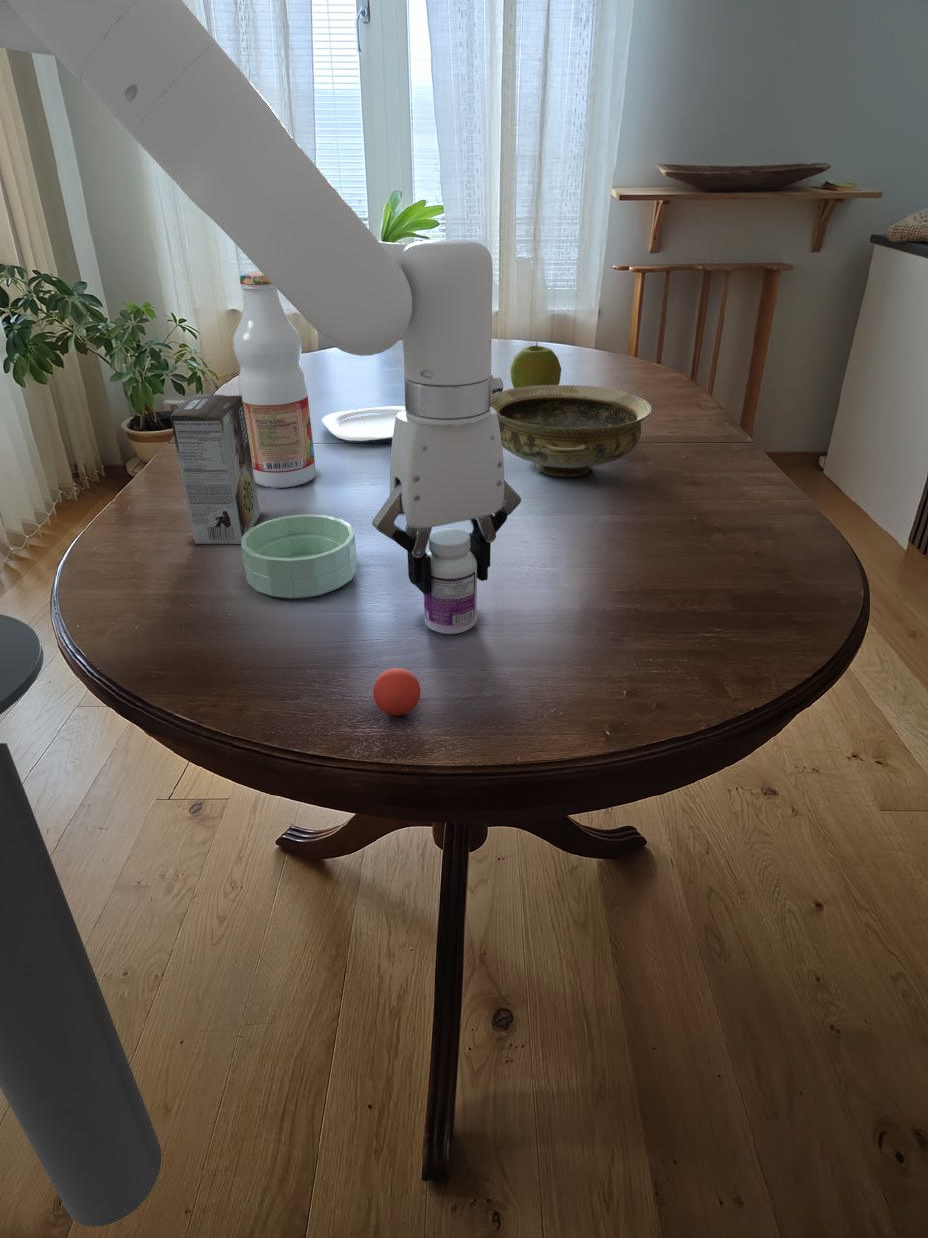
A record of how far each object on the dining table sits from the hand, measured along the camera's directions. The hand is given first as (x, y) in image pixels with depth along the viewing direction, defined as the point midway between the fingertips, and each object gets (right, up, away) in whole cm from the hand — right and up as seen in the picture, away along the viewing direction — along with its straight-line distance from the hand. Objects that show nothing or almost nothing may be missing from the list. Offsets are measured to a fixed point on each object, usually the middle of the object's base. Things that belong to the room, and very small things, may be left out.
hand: (449, 579), depth 78 cm
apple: (+15, +39, +77) cm, 87 cm away
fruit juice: (-25, +17, +39) cm, 50 cm away
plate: (-14, +29, +59) cm, 67 cm away
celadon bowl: (-17, +1, +12) cm, 20 cm away
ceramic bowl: (+17, +19, +42) cm, 49 cm away
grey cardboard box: (-29, +7, +23) cm, 38 cm away
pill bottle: (0, -4, +3) cm, 5 cm away
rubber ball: (-4, -10, -11) cm, 16 cm away
